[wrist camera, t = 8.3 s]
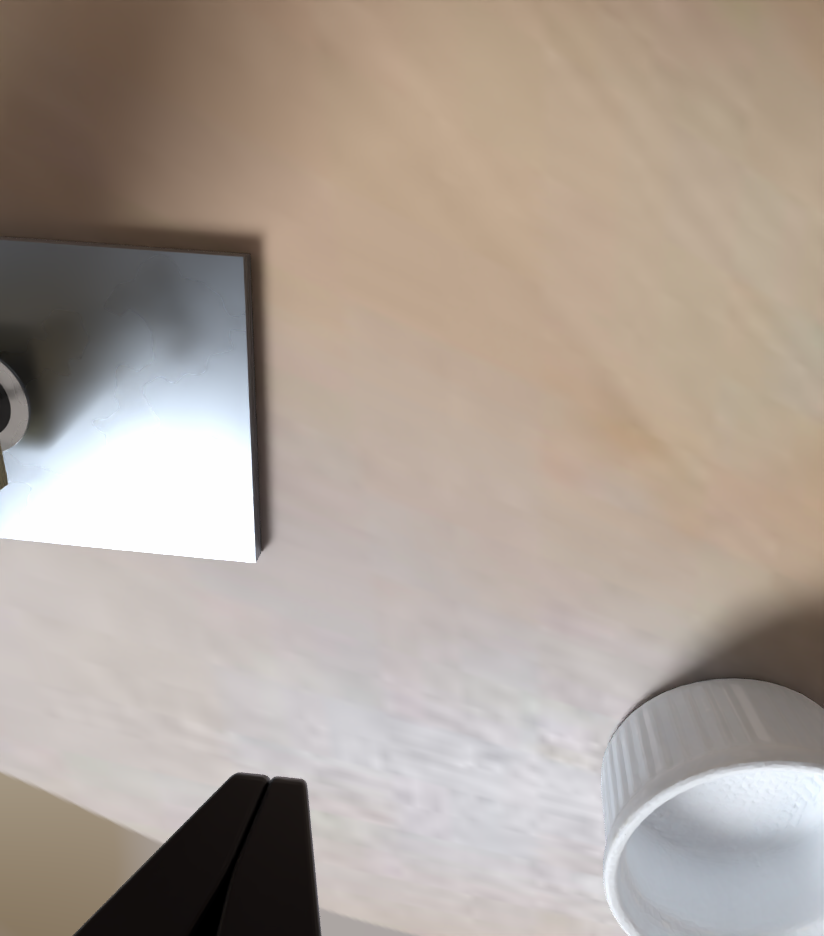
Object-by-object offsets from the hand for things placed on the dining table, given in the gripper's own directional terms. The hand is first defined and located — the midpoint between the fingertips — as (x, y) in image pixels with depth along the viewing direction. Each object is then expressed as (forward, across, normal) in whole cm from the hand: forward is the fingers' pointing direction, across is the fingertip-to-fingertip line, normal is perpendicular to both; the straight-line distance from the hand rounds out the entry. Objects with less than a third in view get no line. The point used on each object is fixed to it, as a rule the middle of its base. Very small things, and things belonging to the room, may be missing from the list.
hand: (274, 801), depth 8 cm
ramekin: (+13, -11, +12) cm, 21 cm away
